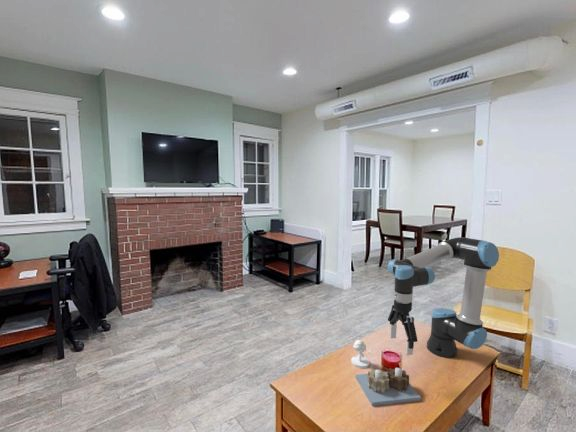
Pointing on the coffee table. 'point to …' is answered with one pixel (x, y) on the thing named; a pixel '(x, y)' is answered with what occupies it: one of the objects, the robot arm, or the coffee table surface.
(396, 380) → the walnut gear
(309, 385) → the coffee table surface
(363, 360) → the figurine
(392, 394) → the gear board
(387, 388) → the gear
